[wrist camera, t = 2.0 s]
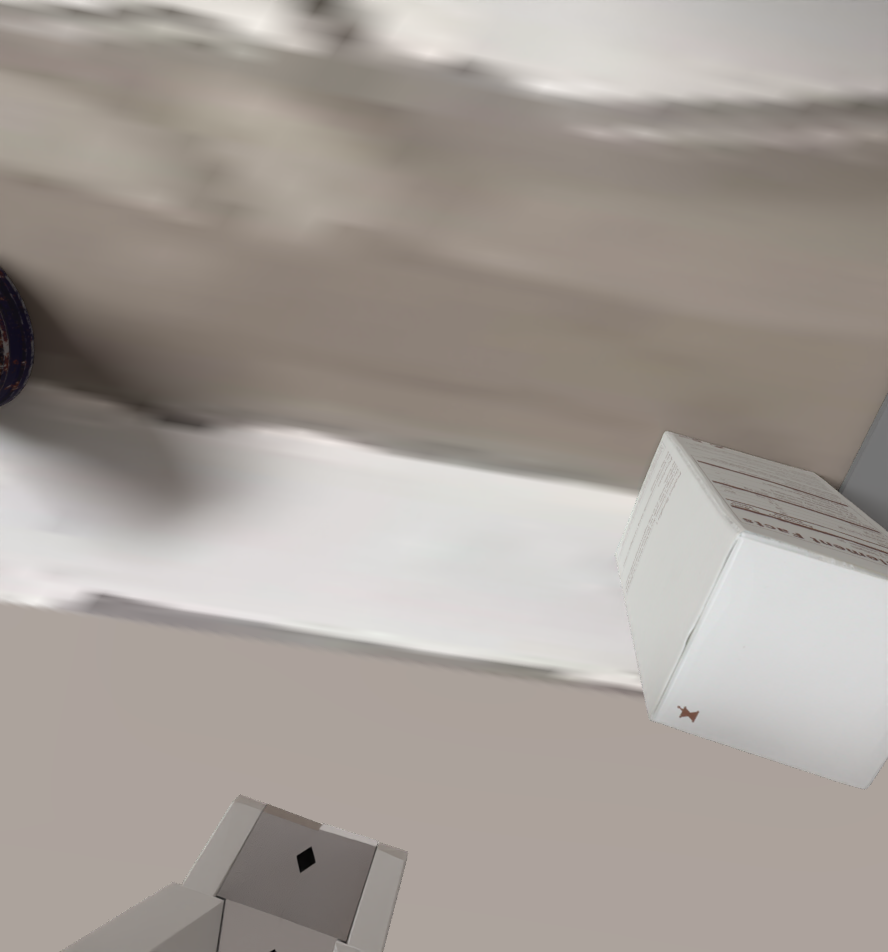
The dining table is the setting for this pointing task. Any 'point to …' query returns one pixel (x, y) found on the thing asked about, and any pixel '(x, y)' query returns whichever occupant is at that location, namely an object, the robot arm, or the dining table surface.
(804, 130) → the dining table surface
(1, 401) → the storage jar
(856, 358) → the dining table surface
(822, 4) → the dining table surface
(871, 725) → the supplement box
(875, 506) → the mat
